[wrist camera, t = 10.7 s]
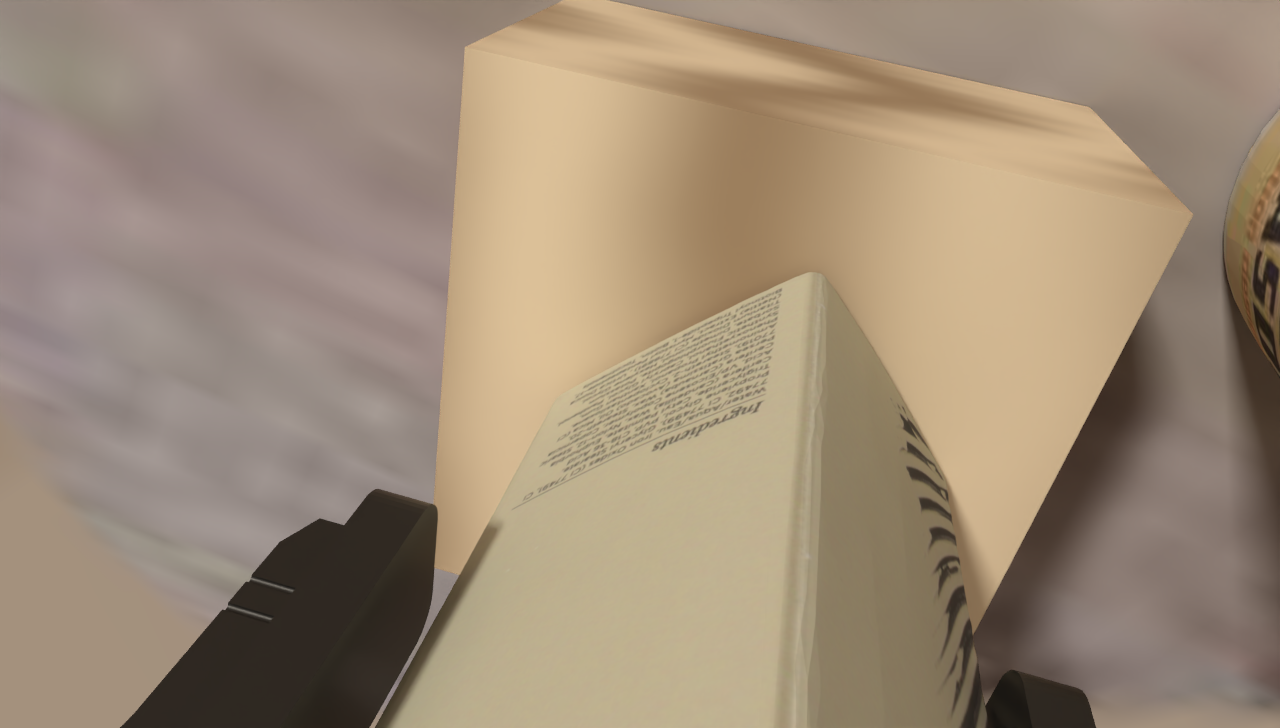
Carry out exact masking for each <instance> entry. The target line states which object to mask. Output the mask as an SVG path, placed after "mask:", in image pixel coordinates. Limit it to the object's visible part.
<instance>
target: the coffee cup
mask: <svg viewBox="0 0 1280 728" xmlns="http://www.w3.org/2000/svg"><path fill="white" fill-rule="evenodd" d="M1224 261H1225V267H1226V273H1227V279H1228V282H1229V285H1230V288H1231V291H1232V294H1233V297H1234V299H1235V301H1236V304H1237V306H1238V308H1239V310H1240V312H1241V314H1242V316H1243V318H1244V320H1245V322H1246V324H1247V325H1248V327H1249V329H1250V331H1251V332H1252V334H1253V336H1254V338H1255V339H1256V341H1257V343H1258V345H1259V346H1260V348H1261V349H1262V351H1263V352H1264V354H1265V356H1266V357H1267V359H1268V360H1269V362H1270V363H1271V365H1272V367H1273V368H1274V370H1275V371H1276V373H1277V375H1278V376H1279V378H1280V109H1279V110H1278V111H1277V113H1276V114H1275V115H1274V116H1273V117H1272V119H1271V120H1270V121H1269V122H1268V124H1267V125H1266V126H1265V127H1264V129H1263V130H1262V131H1261V133H1260V135H1259V137H1258V138H1257V140H1256V142H1255V143H1254V145H1253V146H1252V148H1251V149H1250V151H1249V153H1248V155H1247V157H1246V159H1245V161H1244V163H1243V164H1242V166H1241V169H1240V171H1239V174H1238V177H1237V180H1236V182H1235V185H1234V188H1233V191H1232V194H1231V196H1230V199H1229V203H1228V208H1227V213H1226V218H1225V226H1224Z"/></svg>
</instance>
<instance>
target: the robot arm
mask: <svg viewBox="0 0 1280 728" xmlns="http://www.w3.org/2000/svg"><path fill="white" fill-rule="evenodd" d="M437 524H438V510H437V507H436V506H435V505H433V504H430V503H426V502H423V501H419V500H416V499H412V498H409V497H405V496H401V495H398V494H394V493H391V492H387V491H384V490H380V489H375V490H373V491H372V492H371V493H369V494H368V496H367V497H366V498H365V499H364V501H363V502H362V503H361V504H360V506H359V507H358V508H357V510H356V511H355V512H354V513H353V515H352V516H351V517H350V519H349V520H348V521H347V523H346V524H345V525H341V524H337V523H334V522H330V521H327V520H323V519H318V520H317V521H315V522H313V523H311V524H310V525H308V526H306V527H305V528H303V529H301V530H300V531H298V532H296V533H294V534H293V535H291V536H289V537H288V538H286V539H284V540H282V541H281V542H279V544H278V545H277V546H276V547H275V548H274V549H273V551H272V552H271V553H270V554H269V555H268V556H267V558H266V559H265V560H264V561H263V562H262V564H261V565H260V566H259V567H258V568H257V569H256V571H255V572H254V573H253V574H252V577H251V580H250V581H249V582H245V584H244V585H243V586H242V587H241V588H240V589H239V591H238V592H237V593H236V594H235V595H234V597H233V598H232V599H231V600H230V601H229V602H228V607H227V609H226V610H222V611H221V612H220V613H219V614H218V615H217V617H216V618H215V619H214V620H213V621H212V622H211V624H210V625H209V626H208V627H207V628H206V629H205V631H204V632H203V633H202V634H201V635H200V637H199V638H198V639H197V640H196V641H195V642H194V644H193V645H192V646H191V647H190V648H189V650H188V651H187V652H186V653H185V654H184V655H183V657H182V658H181V659H180V660H179V662H178V663H177V664H176V665H175V666H174V667H173V668H172V670H171V671H170V672H169V673H168V674H167V675H166V677H165V678H164V679H163V680H162V681H161V683H160V684H159V685H158V686H157V687H156V688H155V690H154V691H153V692H152V693H151V694H150V695H149V697H148V698H147V699H146V700H145V701H144V703H143V704H142V705H141V706H140V707H139V709H138V710H137V711H136V712H135V713H134V714H133V715H132V716H131V717H130V718H129V719H128V720H127V721H126V723H125V724H124V725H122V726H121V727H120V728H369V727H370V726H371V724H372V722H373V720H374V719H375V717H376V715H377V713H378V711H379V710H380V708H381V706H382V704H383V703H384V701H385V699H386V697H387V695H388V694H389V692H390V690H391V688H392V687H393V685H394V683H395V681H396V680H397V678H398V676H399V674H400V672H401V671H402V669H403V667H404V665H405V664H406V662H407V660H408V658H409V656H410V655H411V653H412V651H413V649H414V648H415V646H416V644H417V642H418V640H419V637H420V635H421V633H422V630H423V628H424V625H425V622H426V619H427V616H428V613H429V609H430V605H431V600H432V593H433V579H434V565H435V552H436V538H437ZM985 707H986V713H987V719H988V725H989V728H1096V726H1095V722H1094V719H1093V715H1092V712H1091V708H1090V705H1089V702H1088V699H1087V697H1086V695H1085V694H1084V693H1083V691H1082V690H1080V689H1078V688H1075V687H1071V686H1068V685H1064V684H1061V683H1057V682H1054V681H1050V680H1047V679H1043V678H1039V677H1036V676H1032V675H1029V674H1025V673H1022V672H1018V671H1014V670H1010V671H1008V672H1007V673H1005V674H1004V676H1003V677H1002V678H1001V680H1000V681H999V683H998V685H997V687H996V688H995V690H994V692H993V694H992V695H991V697H990V699H989V701H988V702H987V704H986V706H985Z"/></svg>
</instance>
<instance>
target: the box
mask: <svg viewBox="0 0 1280 728" xmlns="http://www.w3.org/2000/svg"><path fill="white" fill-rule="evenodd" d="M375 728H989V725H988V719H987V713H986V707H985V703H984V698H983V694H982V689H981V681H980V674H979V666H978V660H977V655H976V652H975V648H974V641H973V633H972V625H971V621H970V617H969V612H968V607H967V601H966V595H965V589H964V584H963V578H962V572H961V566H960V560H959V555H958V551H957V544H956V535H955V532H954V528H953V523H952V515H951V509H950V506H949V499H948V490H947V484H946V480H945V478H944V475H943V473H942V471H941V469H940V467H939V466H938V464H937V462H936V460H935V458H934V457H933V455H932V453H931V451H930V449H929V448H928V446H927V444H926V442H925V440H924V438H923V436H922V435H921V433H920V431H919V429H918V427H917V425H916V423H915V421H914V419H913V418H912V416H911V414H910V412H909V411H908V409H907V407H906V405H905V403H904V402H903V400H902V398H901V396H900V394H899V393H898V391H897V389H896V387H895V386H894V384H893V382H892V380H891V379H890V377H889V375H888V373H887V372H886V370H885V368H884V366H883V365H882V363H881V361H880V360H879V358H878V356H877V355H876V353H875V352H874V350H873V348H872V347H871V345H870V344H869V342H868V340H867V339H866V337H865V336H864V334H863V332H862V331H861V329H860V328H859V326H858V324H857V323H856V321H855V320H854V318H853V317H852V315H851V314H850V312H849V311H848V309H847V308H846V306H845V305H844V303H843V302H842V300H841V298H840V297H839V295H838V294H837V292H836V291H835V289H834V288H833V286H832V285H831V283H830V282H829V281H828V279H827V278H826V277H825V276H824V275H822V274H821V273H816V272H808V273H805V274H803V275H800V276H797V277H795V278H792V279H790V280H788V281H786V282H783V283H781V284H779V285H777V286H774V287H773V288H771V289H769V290H767V291H765V292H762V293H760V294H757V295H755V296H753V297H751V298H749V299H747V300H744V301H742V302H740V303H738V304H736V305H734V306H732V307H731V308H729V309H726V310H724V311H722V312H720V313H718V314H716V315H714V316H712V317H710V318H708V319H706V320H704V321H702V322H699V323H697V324H695V325H693V326H691V327H689V328H687V329H685V330H683V331H681V332H679V333H677V334H675V335H673V336H671V337H669V338H667V339H665V340H663V341H661V342H660V343H658V344H656V345H654V346H652V347H650V348H648V349H646V350H644V351H642V352H640V353H638V354H636V355H634V356H632V357H630V358H628V359H627V360H625V361H623V362H621V363H619V364H617V365H615V366H613V367H611V368H609V369H607V370H605V371H604V372H602V373H600V374H598V375H596V376H594V377H592V378H591V379H589V380H587V381H585V382H583V383H581V384H579V385H577V386H576V387H574V388H572V389H570V390H568V391H567V392H565V393H563V394H561V395H560V396H559V397H558V398H557V399H556V400H555V402H554V403H553V405H552V406H551V408H550V410H549V412H548V414H547V416H546V418H545V420H544V422H543V423H542V425H541V427H540V429H539V431H538V432H537V434H536V436H535V438H534V440H533V441H532V443H531V445H530V447H529V449H528V451H527V453H526V455H525V456H524V458H523V460H522V462H521V464H520V465H519V467H518V469H517V471H516V473H515V475H514V476H513V478H512V480H511V482H510V484H509V486H508V488H507V490H506V491H505V493H504V495H503V497H502V499H501V501H500V503H499V505H498V506H497V508H496V510H495V512H494V514H493V516H492V517H491V519H490V521H489V523H488V524H487V526H486V528H485V530H484V531H483V533H482V535H481V537H480V539H479V540H478V542H477V544H476V546H475V548H474V550H473V551H472V553H471V555H470V557H469V559H468V561H467V562H466V564H465V566H464V568H463V570H462V572H461V573H460V575H459V577H458V579H457V581H456V583H455V584H454V586H453V588H452V590H451V592H450V593H449V595H448V597H447V599H446V601H445V603H444V604H443V606H442V608H441V610H440V611H439V613H438V615H437V617H436V618H435V620H434V622H433V624H432V626H431V627H430V629H429V631H428V633H427V635H426V636H425V638H424V640H423V642H422V644H421V646H420V647H419V649H418V651H417V653H416V655H415V656H414V658H413V660H412V662H411V664H410V665H409V667H408V669H407V671H406V673H405V674H404V676H403V678H402V680H401V682H400V683H399V685H398V687H397V689H396V691H395V692H394V694H393V696H392V698H391V700H390V701H389V703H388V705H387V707H386V709H385V710H384V712H383V714H382V716H381V718H380V719H379V721H378V723H377V725H376V727H375Z"/></svg>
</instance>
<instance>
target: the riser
mask: <svg viewBox="0 0 1280 728" xmlns="http://www.w3.org/2000/svg"><path fill="white" fill-rule="evenodd" d="M1192 216H1193V214H1192V213H1191V212H1190V211H1189V210H1188V209H1187V207H1186V206H1185V205H1184V204H1183V203H1182V202H1181V201H1180V200H1179V199H1178V198H1177V197H1176V196H1175V195H1174V194H1173V193H1172V192H1171V191H1170V190H1169V189H1168V188H1167V187H1166V186H1165V185H1164V184H1163V183H1162V182H1161V181H1160V180H1159V179H1158V177H1157V176H1156V175H1155V174H1154V173H1153V172H1152V171H1151V170H1150V169H1149V168H1148V167H1147V166H1146V165H1145V164H1144V163H1143V162H1142V161H1141V160H1140V159H1139V158H1138V157H1137V156H1136V155H1135V154H1134V153H1133V152H1132V151H1131V150H1130V149H1129V147H1128V146H1127V145H1126V144H1125V143H1124V142H1123V141H1122V140H1121V139H1120V138H1119V137H1118V136H1117V135H1116V134H1115V133H1114V132H1113V131H1112V130H1111V129H1110V128H1109V127H1108V126H1107V125H1106V124H1105V123H1104V122H1103V121H1102V120H1101V118H1100V117H1099V116H1098V115H1097V114H1096V113H1095V112H1094V111H1093V110H1092V109H1091V108H1090V107H1086V106H1082V105H1077V104H1073V103H1068V102H1064V101H1059V100H1055V99H1050V98H1046V97H1041V96H1037V95H1032V94H1028V93H1023V92H1019V91H1014V90H1010V89H1005V88H1001V87H996V86H992V85H987V84H983V83H978V82H974V81H969V80H965V79H960V78H956V77H951V76H947V75H942V74H938V73H933V72H929V71H924V70H920V69H915V68H911V67H906V66H902V65H897V64H893V63H888V62H884V61H879V60H875V59H870V58H865V57H861V56H856V55H852V54H847V53H843V52H838V51H834V50H829V49H825V48H820V47H816V46H811V45H807V44H802V43H798V42H793V41H789V40H784V39H780V38H775V37H771V36H766V35H762V34H757V33H753V32H748V31H744V30H739V29H735V28H730V27H726V26H721V25H717V24H712V23H708V22H703V21H699V20H694V19H690V18H685V17H681V16H676V15H672V14H667V13H663V12H658V11H654V10H649V9H645V8H640V7H636V6H631V5H627V4H622V3H618V2H613V1H608V0H563V1H561V2H559V3H557V4H555V5H553V6H551V7H549V8H547V9H544V10H542V11H540V12H538V13H536V14H534V15H532V16H530V17H528V18H525V19H523V20H521V21H519V22H517V23H515V24H513V25H511V26H509V27H506V28H504V29H502V30H500V31H498V32H496V33H494V34H492V35H490V36H487V37H485V38H483V39H481V40H479V41H477V42H475V43H473V44H470V45H468V46H466V47H465V57H464V71H463V86H462V100H461V115H460V129H459V144H458V158H457V172H456V187H455V201H454V216H453V230H452V245H451V259H450V274H449V288H448V303H447V317H446V332H445V346H444V361H443V375H442V390H441V404H440V418H439V433H438V447H437V462H436V476H435V491H434V505H435V506H436V507H437V510H438V524H437V538H436V552H435V565H434V568H437V569H441V570H444V571H448V572H451V573H455V574H458V575H460V573H461V572H462V570H463V568H464V566H465V564H466V562H467V561H468V559H469V557H470V555H471V553H472V551H473V550H474V548H475V546H476V544H477V542H478V540H479V539H480V537H481V535H482V533H483V531H484V530H485V528H486V526H487V524H488V523H489V521H490V519H491V517H492V516H493V514H494V512H495V510H496V508H497V506H498V505H499V503H500V501H501V499H502V497H503V495H504V493H505V491H506V490H507V488H508V486H509V484H510V482H511V480H512V478H513V476H514V475H515V473H516V471H517V469H518V467H519V465H520V464H521V462H522V460H523V458H524V456H525V455H526V453H527V451H528V449H529V447H530V445H531V443H532V441H533V440H534V438H535V436H536V434H537V432H538V431H539V429H540V427H541V425H542V423H543V422H544V420H545V418H546V416H547V414H548V412H549V410H550V408H551V406H552V405H553V403H554V402H555V400H556V399H557V398H558V397H559V396H560V395H561V394H563V393H565V392H567V391H568V390H570V389H572V388H574V387H576V386H577V385H579V384H581V383H583V382H585V381H587V380H589V379H591V378H592V377H594V376H596V375H598V374H600V373H602V372H604V371H605V370H607V369H609V368H611V367H613V366H615V365H617V364H619V363H621V362H623V361H625V360H627V359H628V358H630V357H632V356H634V355H636V354H638V353H640V352H642V351H644V350H646V349H648V348H650V347H652V346H654V345H656V344H658V343H660V342H661V341H663V340H665V339H667V338H669V337H671V336H673V335H675V334H677V333H679V332H681V331H683V330H685V329H687V328H689V327H691V326H693V325H695V324H697V323H699V322H702V321H704V320H706V319H708V318H710V317H712V316H714V315H716V314H718V313H720V312H722V311H724V310H726V309H729V308H731V307H732V306H734V305H736V304H738V303H740V302H742V301H744V300H747V299H749V298H751V297H753V296H755V295H757V294H760V293H762V292H765V291H767V290H769V289H771V288H773V287H774V286H777V285H779V284H781V283H783V282H786V281H788V280H790V279H792V278H795V277H797V276H800V275H803V274H805V273H808V272H816V273H821V274H822V275H824V276H825V277H826V278H827V279H828V281H829V282H830V283H831V285H832V286H833V288H834V289H835V291H836V292H837V294H838V295H839V297H840V298H841V300H842V302H843V303H844V305H845V306H846V308H847V309H848V311H849V312H850V314H851V315H852V317H853V318H854V320H855V321H856V323H857V324H858V326H859V328H860V329H861V331H862V332H863V334H864V336H865V337H866V339H867V340H868V342H869V344H870V345H871V347H872V348H873V350H874V352H875V353H876V355H877V356H878V358H879V360H880V361H881V363H882V365H883V366H884V368H885V370H886V372H887V373H888V375H889V377H890V379H891V380H892V382H893V384H894V386H895V387H896V389H897V391H898V393H899V394H900V396H901V398H902V400H903V402H904V403H905V405H906V407H907V409H908V411H909V412H910V414H911V416H912V418H913V419H914V421H915V423H916V425H917V427H918V429H919V431H920V433H921V435H922V436H923V438H924V440H925V442H926V444H927V446H928V448H929V449H930V451H931V453H932V455H933V457H934V458H935V460H936V462H937V464H938V466H939V467H940V469H941V471H942V473H943V475H944V478H945V480H946V484H947V490H948V499H949V506H950V509H951V515H952V523H953V528H954V532H955V535H956V544H957V551H958V555H959V560H960V566H961V572H962V578H963V584H964V589H965V595H966V601H967V607H968V612H969V617H970V621H971V625H972V633H973V634H974V633H975V631H976V629H977V627H978V625H979V623H980V621H981V619H982V617H983V615H984V613H985V612H986V610H987V608H988V606H989V604H990V602H991V600H992V598H993V596H994V594H995V592H996V591H997V589H998V587H999V585H1000V583H1001V581H1002V579H1003V577H1004V575H1005V573H1006V571H1007V570H1008V568H1009V566H1010V564H1011V562H1012V560H1013V558H1014V556H1015V554H1016V552H1017V550H1018V549H1019V547H1020V545H1021V543H1022V541H1023V539H1024V537H1025V535H1026V533H1027V531H1028V529H1029V528H1030V526H1031V524H1032V522H1033V520H1034V518H1035V516H1036V514H1037V512H1038V510H1039V508H1040V507H1041V505H1042V503H1043V501H1044V499H1045V497H1046V495H1047V493H1048V491H1049V489H1050V487H1051V486H1052V484H1053V482H1054V480H1055V478H1056V476H1057V474H1058V472H1059V470H1060V468H1061V466H1062V465H1063V463H1064V461H1065V459H1066V457H1067V455H1068V453H1069V451H1070V449H1071V447H1072V445H1073V444H1074V442H1075V440H1076V438H1077V436H1078V434H1079V432H1080V430H1081V428H1082V426H1083V424H1084V422H1085V421H1086V419H1087V417H1088V415H1089V413H1090V411H1091V409H1092V407H1093V405H1094V403H1095V401H1096V400H1097V398H1098V396H1099V394H1100V392H1101V390H1102V388H1103V386H1104V384H1105V382H1106V380H1107V379H1108V377H1109V375H1110V373H1111V371H1112V369H1113V367H1114V365H1115V363H1116V361H1117V359H1118V358H1119V356H1120V354H1121V352H1122V350H1123V348H1124V346H1125V344H1126V342H1127V340H1128V338H1129V337H1130V335H1131V333H1132V331H1133V329H1134V327H1135V325H1136V323H1137V321H1138V319H1139V317H1140V316H1141V314H1142V312H1143V310H1144V308H1145V306H1146V304H1147V302H1148V300H1149V298H1150V296H1151V295H1152V293H1153V291H1154V289H1155V287H1156V285H1157V283H1158V281H1159V279H1160V277H1161V275H1162V274H1163V272H1164V270H1165V268H1166V266H1167V264H1168V262H1169V260H1170V258H1171V256H1172V254H1173V253H1174V251H1175V249H1176V247H1177V245H1178V243H1179V241H1180V239H1181V237H1182V235H1183V233H1184V232H1185V230H1186V228H1187V226H1188V224H1189V222H1190V220H1191V218H1192Z"/></svg>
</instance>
